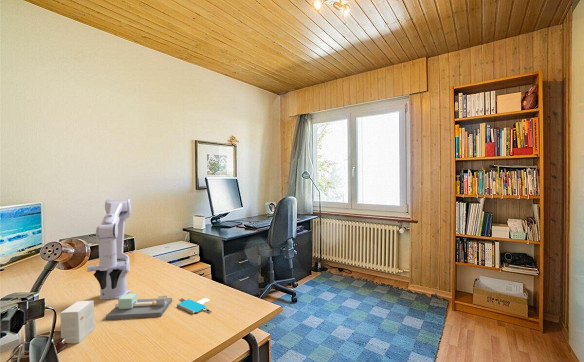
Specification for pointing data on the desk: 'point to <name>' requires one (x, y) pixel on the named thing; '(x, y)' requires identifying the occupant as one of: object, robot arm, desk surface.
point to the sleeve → (127, 301)
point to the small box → (77, 321)
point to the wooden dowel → (142, 304)
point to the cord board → (139, 310)
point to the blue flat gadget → (193, 305)
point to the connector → (161, 301)
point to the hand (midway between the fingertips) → (109, 288)
